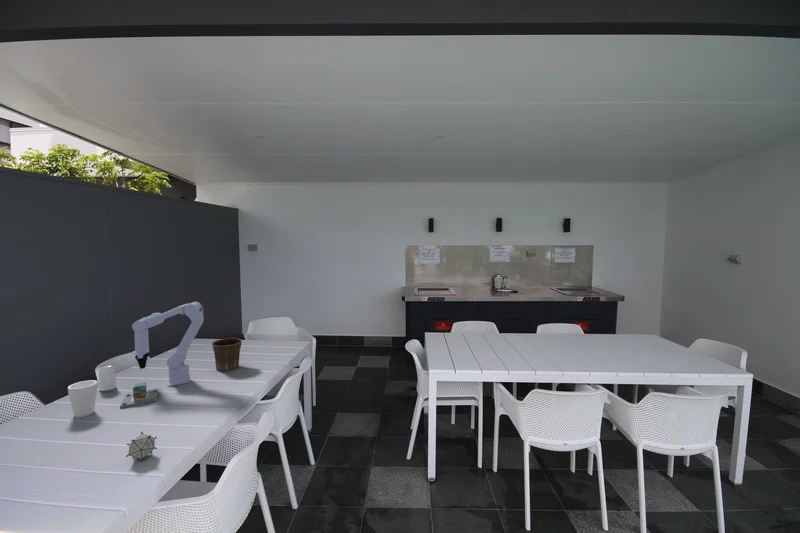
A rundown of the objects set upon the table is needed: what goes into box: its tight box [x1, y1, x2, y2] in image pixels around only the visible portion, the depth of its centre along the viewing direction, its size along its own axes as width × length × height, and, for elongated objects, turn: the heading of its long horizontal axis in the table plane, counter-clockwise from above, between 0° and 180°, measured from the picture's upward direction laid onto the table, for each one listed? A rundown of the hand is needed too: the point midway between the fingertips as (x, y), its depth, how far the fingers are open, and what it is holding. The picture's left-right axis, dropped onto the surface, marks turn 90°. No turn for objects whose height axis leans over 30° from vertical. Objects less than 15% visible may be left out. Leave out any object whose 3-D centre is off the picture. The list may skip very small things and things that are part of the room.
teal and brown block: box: [132, 381, 147, 400], centre depth 160 cm, size 4×4×6 cm
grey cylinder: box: [98, 363, 117, 392], centre depth 172 cm, size 6×6×12 cm
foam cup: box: [67, 379, 99, 418], centre depth 146 cm, size 10×9×13 cm
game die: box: [125, 431, 158, 463], centre depth 116 cm, size 9×8×10 cm
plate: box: [119, 388, 159, 409], centre depth 160 cm, size 13×13×2 cm
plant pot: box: [211, 337, 243, 372], centre depth 203 cm, size 16×16×16 cm
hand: (142, 368), depth 176 cm, fingers closed
